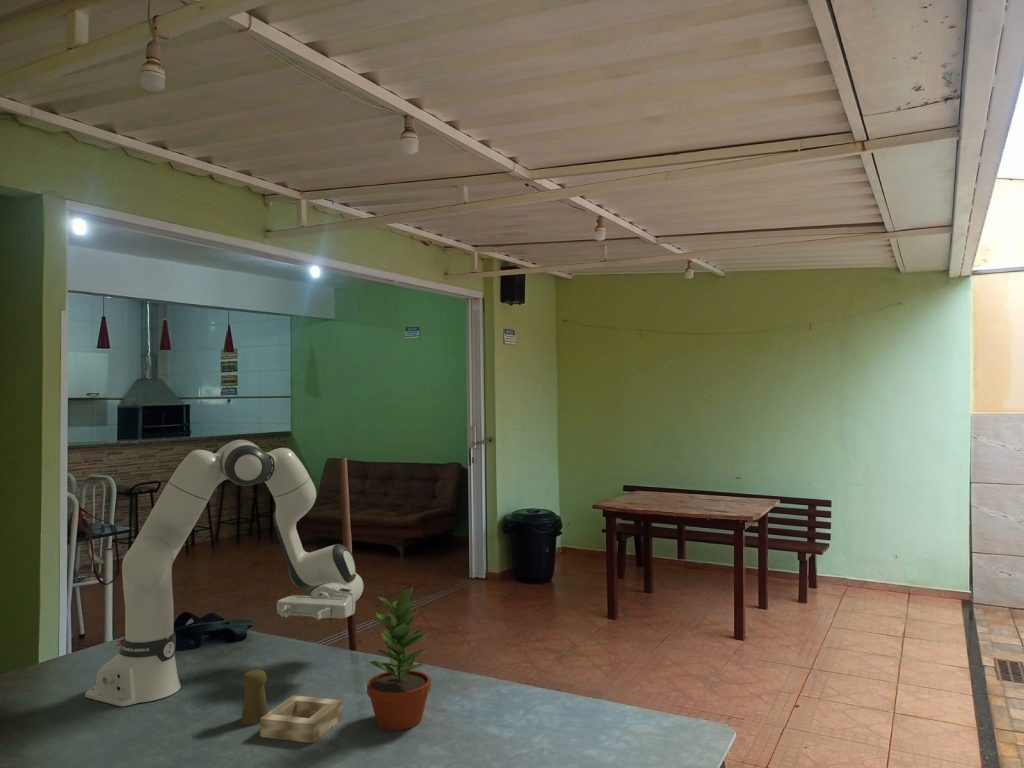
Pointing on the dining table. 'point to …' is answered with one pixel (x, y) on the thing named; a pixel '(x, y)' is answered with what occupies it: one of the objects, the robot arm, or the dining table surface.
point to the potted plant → (399, 670)
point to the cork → (254, 697)
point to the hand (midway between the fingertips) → (299, 615)
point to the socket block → (301, 719)
